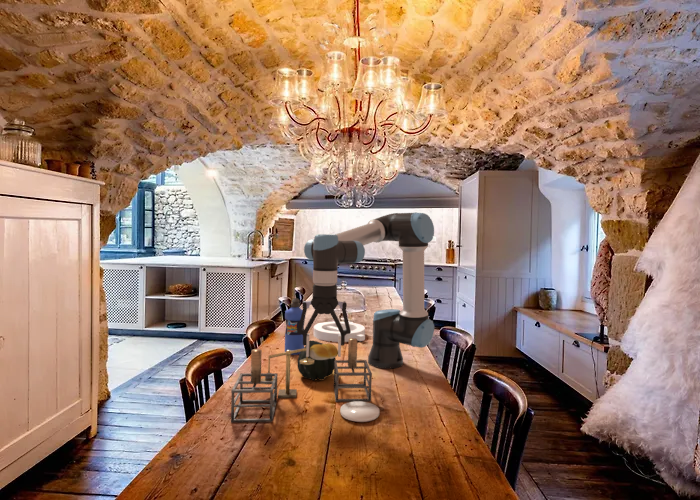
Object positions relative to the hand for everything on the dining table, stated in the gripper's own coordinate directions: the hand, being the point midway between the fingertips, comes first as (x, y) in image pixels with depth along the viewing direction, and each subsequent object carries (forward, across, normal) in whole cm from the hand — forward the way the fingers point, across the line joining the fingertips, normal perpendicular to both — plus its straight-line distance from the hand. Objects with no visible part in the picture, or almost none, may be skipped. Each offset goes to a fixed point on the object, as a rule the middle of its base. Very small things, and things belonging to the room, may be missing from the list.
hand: (323, 355), depth 122 cm
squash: (+18, +2, -28) cm, 33 cm away
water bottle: (+18, +13, -60) cm, 64 cm away
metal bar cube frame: (+17, -10, -12) cm, 24 cm away
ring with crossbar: (+18, -9, -91) cm, 93 cm away
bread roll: (+1, 0, 0) cm, 1 cm away
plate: (+17, -12, +4) cm, 21 cm away
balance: (+17, +12, -11) cm, 23 cm away
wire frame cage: (+17, +21, +2) cm, 27 cm away
